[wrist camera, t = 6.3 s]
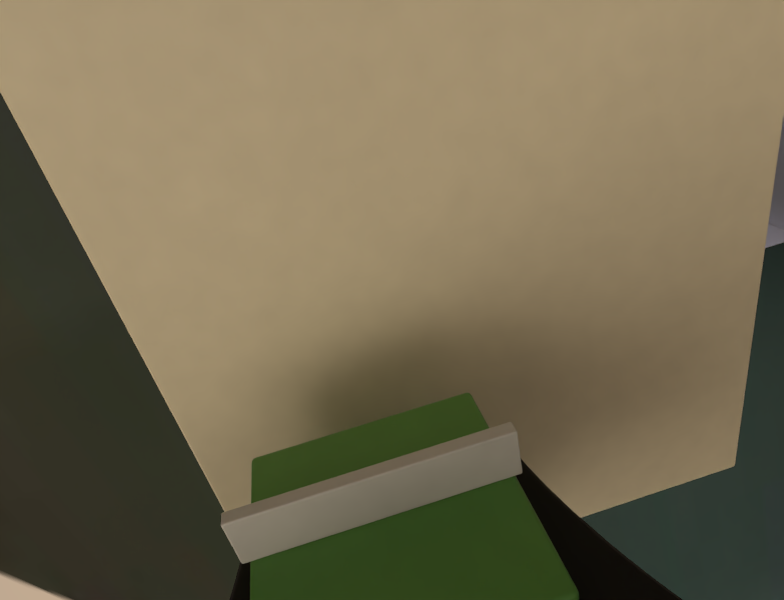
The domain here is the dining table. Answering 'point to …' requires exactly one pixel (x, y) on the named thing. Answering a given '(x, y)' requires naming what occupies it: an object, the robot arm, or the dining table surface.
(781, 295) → the dining table surface
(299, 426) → the cabinet
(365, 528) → the green box
